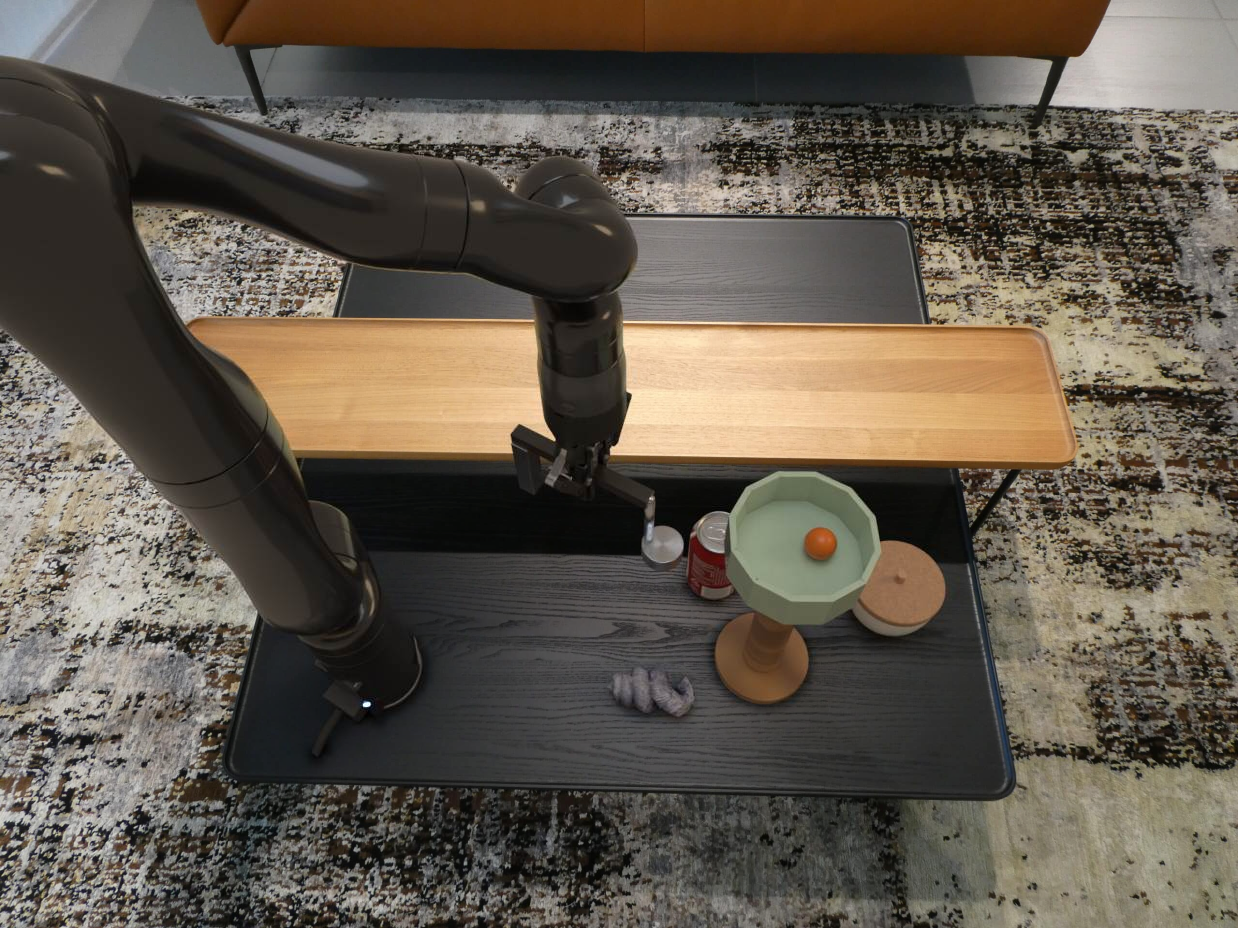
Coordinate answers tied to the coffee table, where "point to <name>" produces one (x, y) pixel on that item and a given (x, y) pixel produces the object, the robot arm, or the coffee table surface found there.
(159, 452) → the robot arm
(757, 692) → the stand
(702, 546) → the soda can
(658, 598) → the coffee table surface
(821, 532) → the ball
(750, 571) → the bowl
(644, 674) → the seashell
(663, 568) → the ladle
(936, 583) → the trinket box
